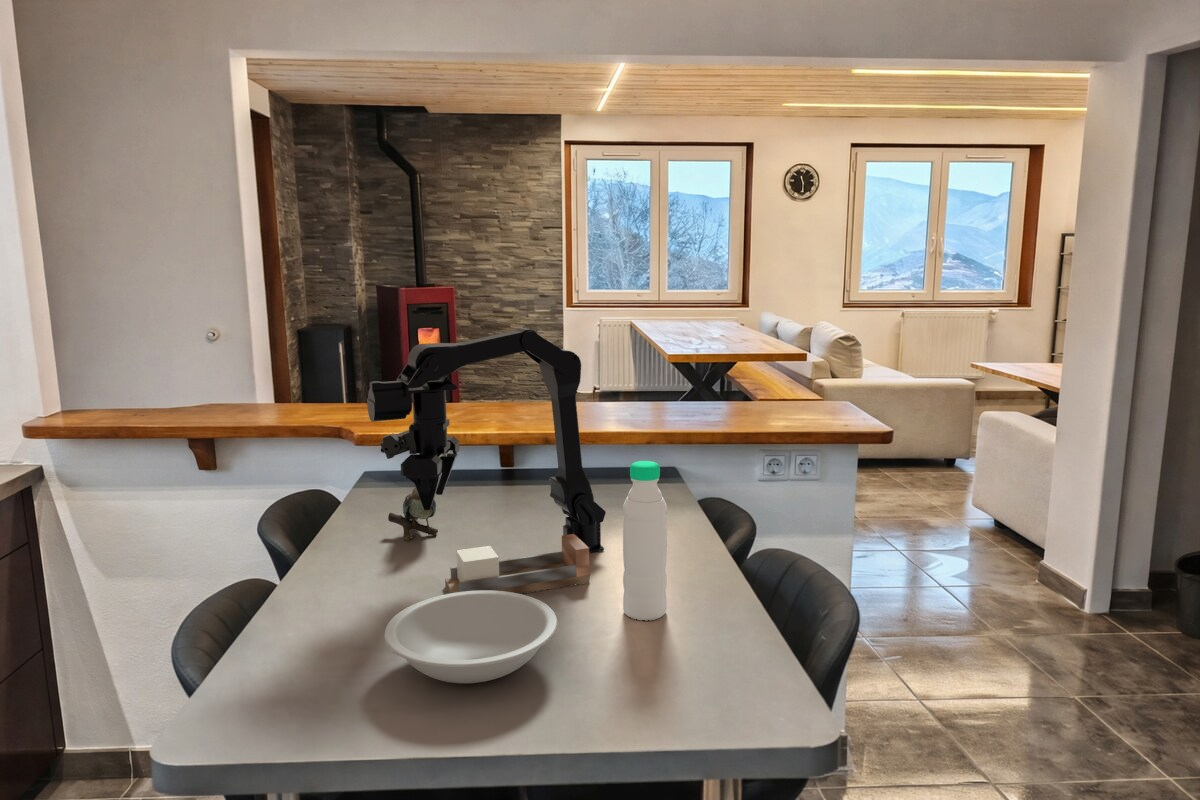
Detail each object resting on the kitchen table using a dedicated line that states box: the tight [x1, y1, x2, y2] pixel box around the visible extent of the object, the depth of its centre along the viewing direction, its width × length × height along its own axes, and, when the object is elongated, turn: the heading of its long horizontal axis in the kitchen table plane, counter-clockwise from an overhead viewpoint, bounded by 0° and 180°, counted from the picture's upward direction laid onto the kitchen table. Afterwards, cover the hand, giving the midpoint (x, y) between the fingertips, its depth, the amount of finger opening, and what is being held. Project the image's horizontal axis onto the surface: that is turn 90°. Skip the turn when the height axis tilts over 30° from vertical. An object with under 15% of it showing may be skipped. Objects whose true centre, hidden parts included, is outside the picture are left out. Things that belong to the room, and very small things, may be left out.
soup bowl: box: [384, 590, 558, 684], centre depth 121 cm, size 24×24×7 cm
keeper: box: [456, 545, 500, 582], centre depth 147 cm, size 6×6×5 cm
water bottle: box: [622, 460, 668, 622], centre depth 136 cm, size 7×7×25 cm
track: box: [444, 534, 591, 595], centre depth 150 cm, size 24×8×6 cm, turn 111°
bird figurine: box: [388, 486, 439, 542], centre depth 175 cm, size 13×10×20 cm
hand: (433, 501), depth 153 cm, fingers open, 9 cm apart
